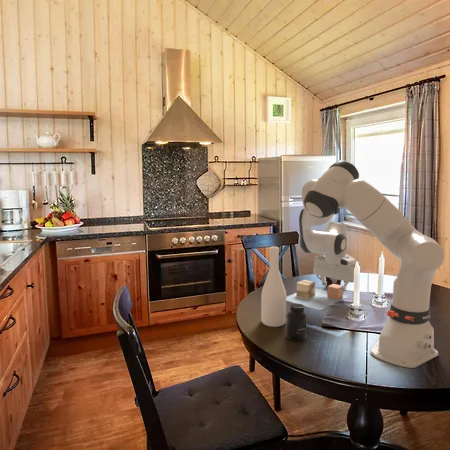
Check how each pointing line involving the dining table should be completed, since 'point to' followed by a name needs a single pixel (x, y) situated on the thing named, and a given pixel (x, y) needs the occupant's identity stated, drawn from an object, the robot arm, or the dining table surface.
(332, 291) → the terracotta cube
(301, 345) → the dining table surface
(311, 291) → the maple block
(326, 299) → the white rectangular board
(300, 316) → the supplement bottle
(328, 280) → the coffee mug
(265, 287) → the wine bottle
